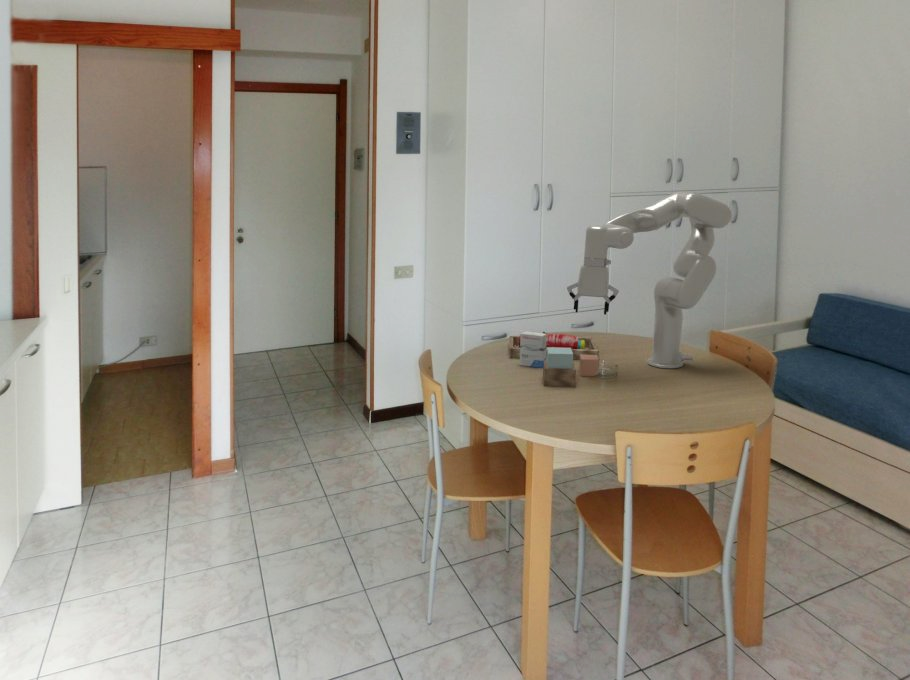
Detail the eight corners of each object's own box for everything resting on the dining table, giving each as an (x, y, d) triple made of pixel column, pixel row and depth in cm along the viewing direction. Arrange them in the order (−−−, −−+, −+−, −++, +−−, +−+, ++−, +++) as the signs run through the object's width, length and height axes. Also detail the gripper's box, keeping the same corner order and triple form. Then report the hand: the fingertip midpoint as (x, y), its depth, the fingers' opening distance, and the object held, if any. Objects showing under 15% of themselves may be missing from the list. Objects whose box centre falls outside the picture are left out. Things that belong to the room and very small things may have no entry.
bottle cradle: (592, 346, 282) (592, 337, 281) (598, 360, 263) (598, 350, 262) (509, 344, 284) (509, 335, 283) (509, 358, 265) (509, 348, 264)
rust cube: (596, 371, 250) (597, 355, 248) (598, 376, 244) (599, 359, 242) (579, 371, 250) (579, 354, 248) (580, 376, 244) (581, 359, 243)
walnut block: (572, 378, 242) (573, 361, 241) (575, 387, 233) (575, 369, 231) (543, 377, 243) (543, 360, 242) (544, 386, 234) (545, 369, 232)
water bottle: (524, 329, 282) (587, 334, 275) (523, 349, 283) (586, 354, 276) (518, 331, 271) (584, 336, 264) (517, 352, 272) (583, 357, 265)
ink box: (546, 364, 257) (547, 333, 254) (541, 368, 253) (542, 336, 250) (523, 361, 261) (524, 330, 258) (519, 365, 256) (520, 333, 254)
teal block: (570, 362, 240) (570, 347, 239) (572, 368, 232) (573, 354, 231) (546, 361, 241) (546, 347, 239) (547, 368, 233) (548, 353, 232)
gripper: (620, 263, 241) (616, 312, 245) (569, 260, 244) (565, 308, 248) (621, 266, 234) (616, 316, 238) (568, 262, 237) (564, 313, 241)
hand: (590, 312), depth 243 cm, fingers open, 9 cm apart
